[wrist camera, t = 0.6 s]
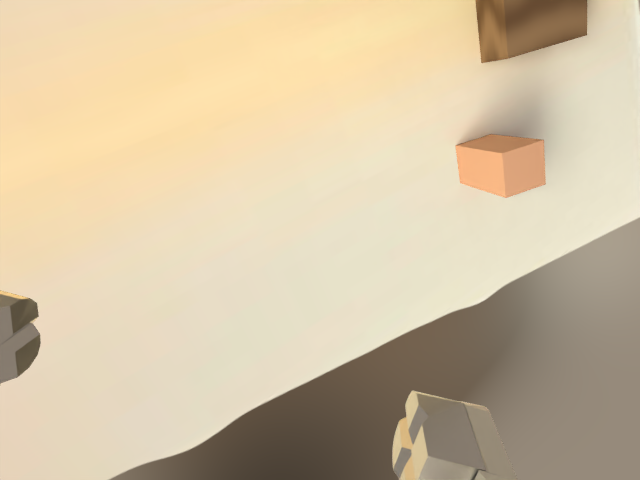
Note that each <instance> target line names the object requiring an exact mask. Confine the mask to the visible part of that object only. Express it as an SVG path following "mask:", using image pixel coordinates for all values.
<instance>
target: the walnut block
mask: <svg viewBox="0 0 640 480" xmlns="http://www.w3.org/2000/svg"><path fill="white" fill-rule="evenodd" d="M476 10H477V20H478V31H479V41H480V52H481V62H482V63H484V62H490V61H496V60H502V59H508V58H511V57H514V56H518V55H521V54H525V53H528V52H531V51H535V50H538V49H541V48H545V47H548V46H552V45H555V44H558V43H562V42H565V41H568V40H572V39H575V38H578V37H582V36H585V35H587V0H476Z"/></svg>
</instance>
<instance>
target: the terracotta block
mask: <svg viewBox="0 0 640 480" xmlns="http://www.w3.org/2000/svg"><path fill="white" fill-rule="evenodd" d="M456 153H457V161H458V169H459V177H460V183H462V184H465V185H468V186H471V187H474V188H477V189H480V190H483V191H486V192H489V193H492V194H496V195H499V196H502V197H505V198H507V197H510V196H513V195H516V194H519V193H522V192H524V191H527V190H530V189H533V188H536V187H539V186H542V185H545V184H546V183H545V158H544V140H540V139H531V138H521V137H511V136H501V135H492V134H490V135H487V136H484V137H481V138H478V139H475V140H471V141H468V142H465V143H462V144H459V145H456Z"/></svg>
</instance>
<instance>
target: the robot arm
mask: <svg viewBox="0 0 640 480" xmlns="http://www.w3.org/2000/svg"><path fill="white" fill-rule="evenodd" d="M38 316H39V315H38V308H37V303H36V302H35V301H33V300H32V299H30V298H27V297H23V296H19V295H16V294H12V293H8V292H4V291H1V290H0V384H1V383H3V382H5V381H8V380H11V379H14V378H17V377H18V376H20V375H21V374H22V373H23V372H24V371H25V370H27V369H28V368H29V367H30V365H31V364H32V362H33V361H34V359H35V358H36V356H37V355H38V351H39V347H40V344H41V343H40V333H39V332H38V330H37V329H36V327H35V326H34V325H33V322H34V321H35V320H36V319H37V318H38ZM405 407H406V415H407V417H405V418H403V419H402V420H400V421H399V423H398V427H397V429H396V432H395V437H394V443H393V456H392V458H393V459H392V460H393V470H394V472H395V473H396V474H397V476H398V477H399V480H517V478H516V475H515V472H514V470H513V468H512V465H511V463H510V460H509V458H508V455H507V453H506V451H505V448H504V446H503V443H502V441H501V438H500V436H499V434H498V431H497V428H496V426H495V424H494V421H493V419H492V416H491V414H490V411H489V410H488V409H487V408H486V407H485V406H480V405H476V404H471V403H466V402H462V401H461V402H458V401H454V400H450V399H446V398H441V397H437V396H433V395H429V394H425V393H420V392H416V391H412V392H411V393H410V395H409V397H408V399H407V402H406V404H405Z"/></svg>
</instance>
